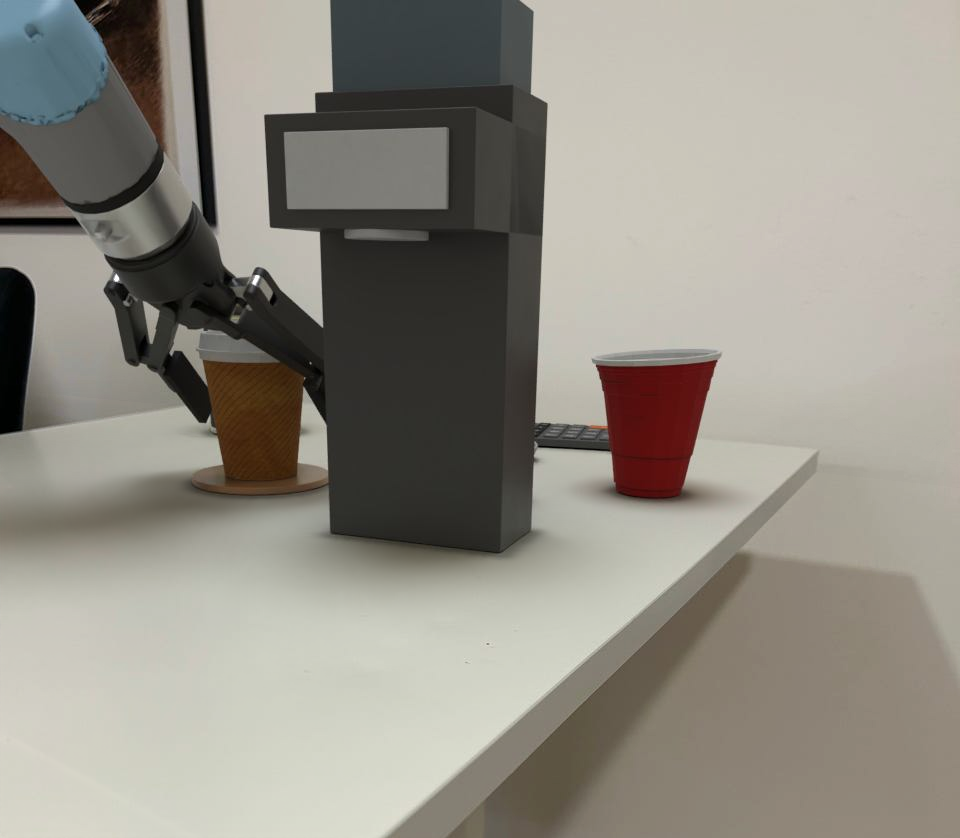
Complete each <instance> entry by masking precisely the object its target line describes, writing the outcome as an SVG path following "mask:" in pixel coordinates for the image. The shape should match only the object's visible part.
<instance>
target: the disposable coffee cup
mask: <svg viewBox="0 0 960 838" xmlns="http://www.w3.org/2000/svg"><path fill="white" fill-rule="evenodd" d="M198 341H199V342H198V346H196V347H195V351H196V352H198V354H199V355H198V356H199V359H200V360H201V361H202V365H203V371H204V376H205V380H206V385H207V387H208V391H209V396H210V402H211V406H212V411H213V416H214V422H215V426H216V432H217V434H216V435H217V440H218V446H219V452H220V456H221V462H222V465H223V467H224V472H225V475H226V476H228V477H231V478H234V479H241V480H258V481H263V480H275V479H283V478H288V477H291V476H294V475H296V474H297V465H298V463H299V452H300V451H299V450H300V438H301V427H302V412H303V401H304V389H305V388H304V386H303V385H302V384H303V382H304V379H305V377H303V376H302V375H300V374H299V373H297V372H296V371H294V370H292V369H291V368H289V367H288V366H286V365H284V364H283V363H281V362H280V361H278V360H277V359H275V358H273V357H272V356H270V355H269V354H267V353H265V352H264V351H262V350H261V349H259V348H257V347H256V346H254V345H253V344H251V343H250V342H248V341H246V340H245V339H240V340H235V339H233V338H231V337H230V336H228V335H227V334H225V333H223V332H222V331H213V330H212V331H204V330H203V331H200V333H199V340H198Z"/></svg>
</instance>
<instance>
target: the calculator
mask: <svg viewBox="0 0 960 838" xmlns="http://www.w3.org/2000/svg"><path fill="white" fill-rule="evenodd" d="M535 442H536V443H537V445H538V446H544V447H559V448H560V447H561V448H577V449H578V448H579V449H595V450H596V449H597V450H610V445H609V436H608V427H607V425H597V424H596V425H595V424H590V425H587V424H579V423H578V424H577V423H573V424H570V423H559V422H558V423H552V422H535Z"/></svg>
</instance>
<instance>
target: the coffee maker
mask: <svg viewBox="0 0 960 838" xmlns="http://www.w3.org/2000/svg"><path fill="white" fill-rule="evenodd" d="M329 7H330V8H329V10H330V11H329V12H330V41H331V45H330V47H331V76H332V77H331V78H332V91H316V92H315V93H314V107H315V109H314V110H315V112H293V113H266V114H263V120H264V121H263V123H264V141H265V143H264V144H265V158H266V163H265V164H266V179H267V181H266V182H267V198H268V199H267V200H268V201H267V202H268V220H269V228H271V229H279V230H290V231H301V232H302V231H303V232H315V233H319V252H320V253H319V254H320V273H321V274H320V278H321V281H320V282H321V305H322V306H321V307H322V308H321V310H322V327H323V340H324V369H325V398H326V423H325V425H326V450H327V453H326V454H327V470H328V483H327V484H328V505H329V509H328V510H329V532H330V534H339V535H346V536H356V537H363V538H364V537H365V538H372V539H382V540H388V541H389V540H390V541H396V542H405V543H415V544H423V545H431V546H441V547H447V548H455V549H456V548H457V549H466V550H472V551H473V550H474V551H482V552H483V551H484V552H492V553H501V552H503V551H504V550H506V549H507V548H508V547H509V546H511V545H513V544H514V543H515V542H516V541H518V540H519V539H520V538H522V537H523V536H525V535H526V534H527V533H529V532H530V531H531V530H532V521H533V520H532V519H533V518H532V517H533V494H534V493H533V492H534V491H533V490H534V470H535V469H534V466H535V465H534V464H535V455H534V444H535V423H536V415H537V393H538V392H537V391H538V389H537V388H538V364H539V363H538V361H539V338H540V337H539V336H540V312H541V311H540V310H541V288H542V287H541V286H542V285H541V284H542V260H543V259H542V258H543V239H544V238H543V236H544V210H545V188H546V187H545V185H546V184H545V183H546V160H547V159H546V158H547V133H548V132H547V131H548V109H549V107H548V105H549V104H548V102H546V101H544V100H543V99H541V98H539V97H538V96H535V95H533V94H532V75H533V44H534V43H533V42H534V10H533V9H532V8H530V7H529V6H528V5H527V4H525V3H524V2H523V1H521V0H329Z"/></svg>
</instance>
